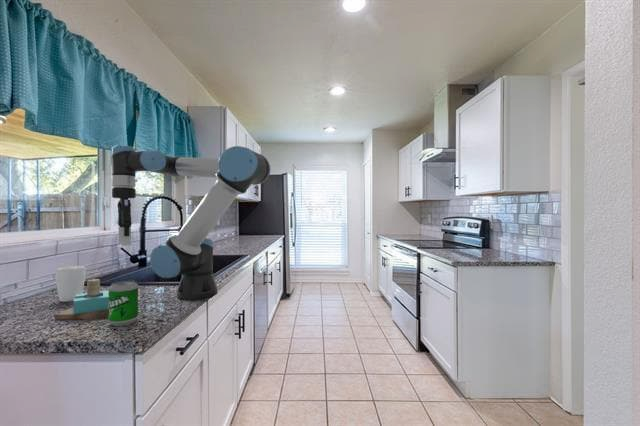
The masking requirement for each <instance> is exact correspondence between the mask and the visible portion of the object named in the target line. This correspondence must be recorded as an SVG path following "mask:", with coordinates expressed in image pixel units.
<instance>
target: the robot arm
mask: <svg viewBox="0 0 640 426" xmlns="http://www.w3.org/2000/svg"><path fill="white" fill-rule="evenodd" d="M110 158H111V186H112V188H111V197H112V198H114V199H119V200H118V203H117V213H118V214H117V215H118V216H117V220H118V221H117V224H118V227H117V228H118V244H121V246H122V247H124V246H131V245H132V213H131V207H132V203H131V200H130V199H135V198H136V197H137V196H136V195H137V192H136V191H137V189H136V188H135V187H136V182H138V179H136V173H137V172H150V173H155V174H161V175H163V174H164V175H168V176H171V177H180V176H181V177H185V176H186V177H196V178H197V177H199V178H212V179H216V180H215V182H214V183H213V185H211V186H212V187H211V188H210V189H209V190H208V191H207V193H205V196H204V197H203V198H202V200H201V201H200V203H199V204H198V205H197V206H196V208H195V210H194V211H193V212H192V213H191V215H190V216H189V217H188V219H187V220H186V222H185V223H184V224H183V226H182V227H181V229H180V230H179V232H173V233H171V235H170V236H169V237H168V238H167V240H166V241H165V243H163V244H159V245H157V246H155V247H154V248H153V249H152V251H151V253H150V258H149V261H150V265H151V269H152V270H153V271H154V273H155V274H156V275H157V276H159V277H161V278H164V279H165V278H166V279H167V278H175V277H177V276H181V279H180V281H179V284H178V287H177V291H176V298H177V299H180V300H187V301H195V300H203V299H208V298H209V299H210V298H212V297H215V296H217V294H218V286H217V283H216V280H215V278H214V272H213V270H214V243H213V239H211V238H207V237H208V235H210V233H211V232H212V230H213V229H214V227H215V226H216V225H217V223H218V222H219V221H220V220H221V219H222V217H223V216H224V214H225V212H227V211H228V209H229V207H230V206H231V205H232V204H233V202H234V201H235V199H236V198H237V197H238V196H239V195H244V194H245V193H246V192H247V191H248V190H249V189H250V187H251V186H252V185H253V186H256V185H260V184H264V183H265V182H266V181H267V180H268V178H269V176H270V174H271V165H270V162H269V161H268V158H266V156H264V155H263V154H261V153H258V152H255V151H254V150H252V149H250V148H249V147H245V146H240V145H237V146H236V145H235V146H231V147H228V148H227V149H225V150H224V151H223V152H222V153H221V155H220V157H219V158H207V157H191V156H190V157H189V156H187V157H186V156H169V155H166V154H164V153H163V152H162V151H160V150H158V149H146V150H136V149H135V147H133V146H131V145H120V144H119V145H114V146H112V147H111V157H110Z"/></svg>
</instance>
